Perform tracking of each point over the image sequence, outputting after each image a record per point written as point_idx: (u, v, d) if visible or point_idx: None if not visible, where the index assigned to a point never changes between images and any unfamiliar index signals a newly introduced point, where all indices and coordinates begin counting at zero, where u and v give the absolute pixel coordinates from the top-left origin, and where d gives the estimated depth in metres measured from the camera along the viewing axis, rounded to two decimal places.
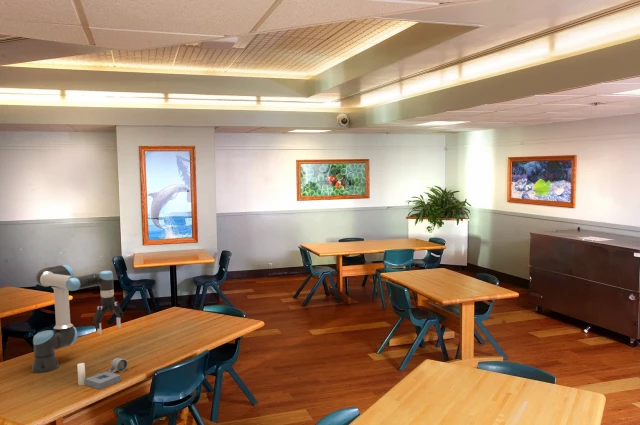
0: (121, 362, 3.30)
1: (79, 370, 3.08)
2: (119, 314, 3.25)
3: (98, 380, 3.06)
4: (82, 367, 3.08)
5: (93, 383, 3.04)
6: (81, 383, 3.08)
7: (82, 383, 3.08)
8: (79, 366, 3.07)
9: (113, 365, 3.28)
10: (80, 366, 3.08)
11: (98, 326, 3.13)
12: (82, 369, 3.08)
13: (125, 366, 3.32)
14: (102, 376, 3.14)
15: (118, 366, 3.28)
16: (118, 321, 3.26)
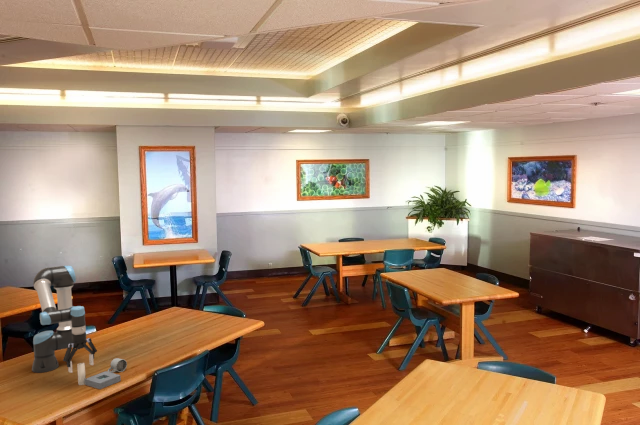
0: (121, 362, 3.29)
1: (79, 370, 3.08)
2: (92, 351, 3.14)
3: (98, 380, 3.06)
4: (82, 367, 3.08)
5: (93, 383, 3.04)
6: (81, 383, 3.08)
7: (82, 383, 3.08)
8: (79, 366, 3.07)
9: (112, 365, 3.28)
10: (80, 366, 3.08)
11: (69, 364, 3.02)
12: (82, 369, 3.08)
13: (124, 366, 3.31)
14: (102, 376, 3.14)
15: (117, 366, 3.28)
16: (91, 358, 3.14)
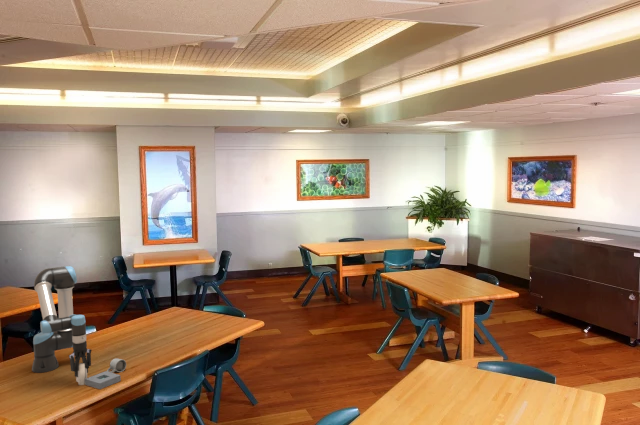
0: (120, 362, 3.29)
1: (79, 370, 3.08)
2: (87, 364, 3.11)
3: (98, 380, 3.06)
4: (82, 367, 3.08)
5: (93, 383, 3.04)
6: (81, 383, 3.08)
7: (82, 383, 3.08)
8: (79, 366, 3.07)
9: (112, 365, 3.27)
10: (80, 366, 3.08)
11: (77, 374, 3.07)
12: (82, 369, 3.08)
13: (124, 366, 3.31)
14: (102, 376, 3.14)
15: (117, 366, 3.27)
16: None
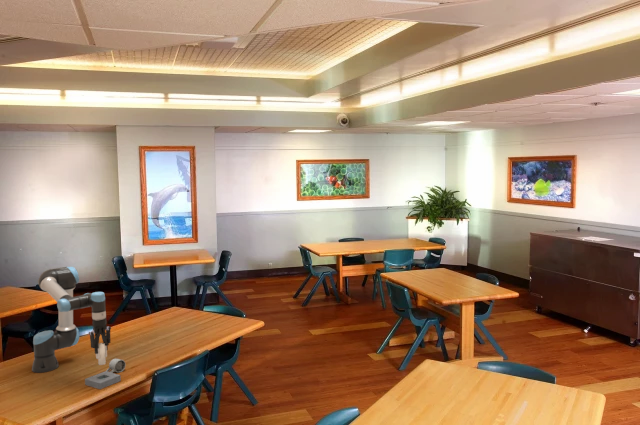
0: (119, 363, 3.28)
1: None
2: (106, 341, 3.11)
3: (98, 380, 3.06)
4: (102, 347, 3.08)
5: (93, 383, 3.04)
6: (101, 363, 3.08)
7: (102, 363, 3.08)
8: (99, 346, 3.07)
9: (111, 366, 3.27)
10: (100, 346, 3.07)
11: (97, 351, 3.06)
12: (102, 349, 3.08)
13: (123, 367, 3.31)
14: (102, 376, 3.14)
15: (116, 367, 3.27)
16: None
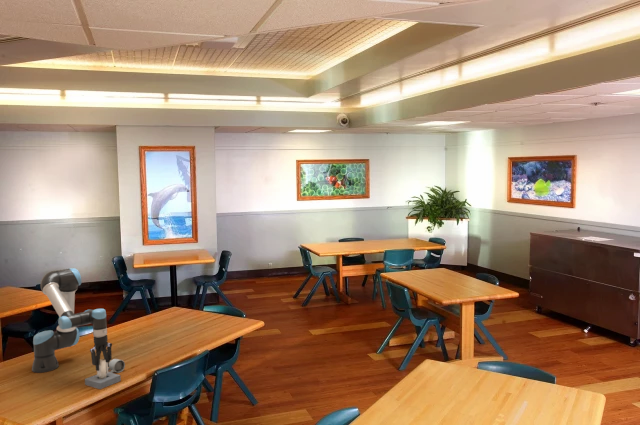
0: (119, 363, 3.28)
1: None
2: (107, 358, 3.12)
3: (98, 380, 3.06)
4: (103, 363, 3.09)
5: (93, 383, 3.04)
6: None
7: None
8: (100, 362, 3.08)
9: (110, 366, 3.27)
10: (101, 362, 3.08)
11: (98, 368, 3.07)
12: (103, 365, 3.09)
13: (122, 367, 3.30)
14: None
15: (115, 367, 3.27)
16: None
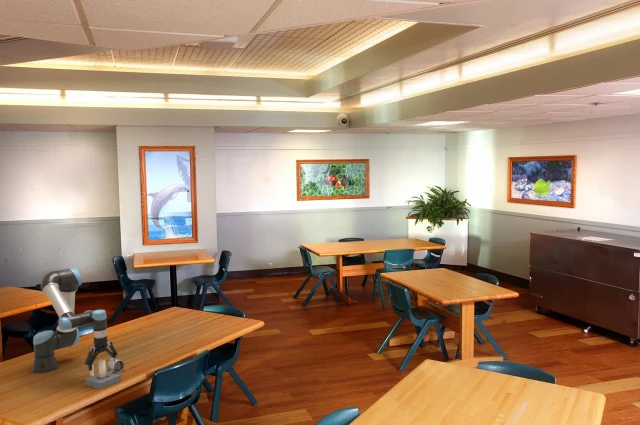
0: (118, 363, 3.28)
1: (100, 367, 3.08)
2: (112, 354, 3.15)
3: (98, 380, 3.06)
4: (103, 363, 3.09)
5: (93, 383, 3.04)
6: None
7: None
8: (100, 362, 3.08)
9: (109, 366, 3.26)
10: (101, 362, 3.08)
11: (91, 368, 3.03)
12: (103, 365, 3.09)
13: (122, 367, 3.30)
14: None
15: (114, 367, 3.26)
16: (111, 361, 3.15)
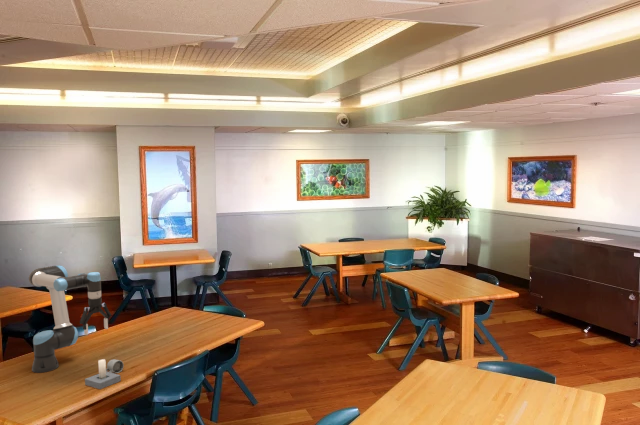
0: (117, 363, 3.27)
1: (100, 367, 3.08)
2: (106, 315, 3.28)
3: (98, 380, 3.06)
4: (103, 363, 3.09)
5: (93, 383, 3.04)
6: None
7: None
8: (100, 362, 3.08)
9: (109, 366, 3.26)
10: (101, 362, 3.08)
11: (85, 327, 3.16)
12: (103, 365, 3.09)
13: (121, 367, 3.29)
14: None
15: (114, 367, 3.26)
16: (105, 322, 3.28)
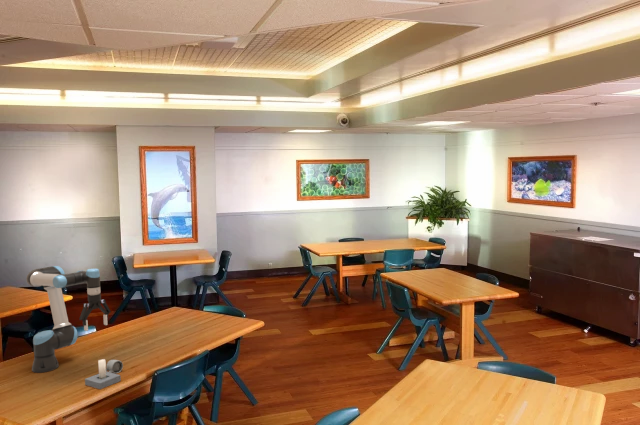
0: (117, 363, 3.27)
1: (100, 367, 3.08)
2: (106, 311, 3.30)
3: (98, 380, 3.06)
4: (103, 363, 3.09)
5: (93, 383, 3.04)
6: None
7: None
8: (100, 362, 3.08)
9: (108, 367, 3.26)
10: (101, 362, 3.08)
11: (85, 323, 3.18)
12: (103, 365, 3.09)
13: (120, 368, 3.29)
14: None
15: (113, 368, 3.26)
16: (105, 318, 3.30)
